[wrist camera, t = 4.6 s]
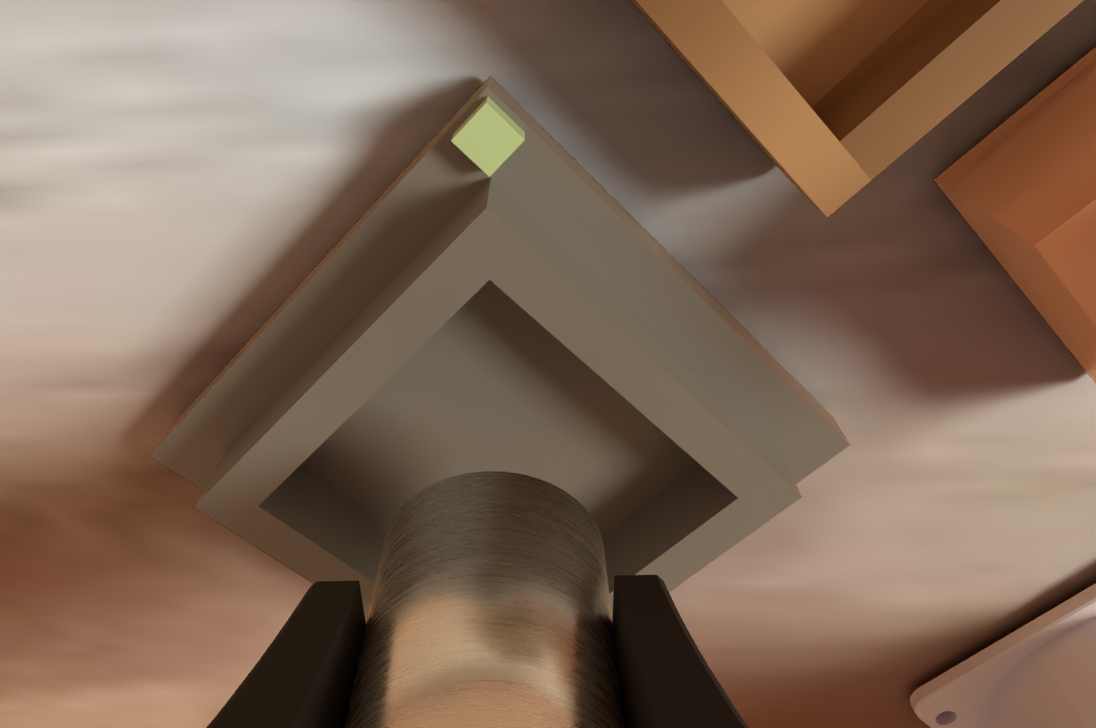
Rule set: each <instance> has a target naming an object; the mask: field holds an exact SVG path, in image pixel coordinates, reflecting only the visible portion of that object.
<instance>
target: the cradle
mask: <svg viewBox="0 0 1096 728" xmlns="http://www.w3.org/2000/svg"><path fill="white" fill-rule="evenodd" d="M849 445H850V444H849V442H848V441H847V439H846V437H845V436H844V434H843V432H842V431H841V429H840V427H839V426H838V424H837V423H836V421H835V419H834V418H833V416H832V415H831V414H830V413H828V412H827V411H826V410H825V409H824V408H823V407H822V406H821V405H820V404H819V403H818V402H817V401H816V400H815V399H814V398H813V397H812V396H811V395H810V394H809V393H808V392H807V391H806V390H805V389H804V388H803V387H802V386H801V385H800V384H799V383H798V382H797V381H796V380H795V379H794V378H793V377H792V376H791V375H790V374H789V373H788V372H787V371H786V370H785V369H784V368H783V367H782V366H781V365H780V364H779V363H778V362H777V361H776V360H775V359H774V358H773V357H772V356H771V355H770V354H769V353H768V352H767V351H766V350H765V349H764V348H763V347H762V346H761V345H760V344H759V343H758V342H757V341H756V340H755V339H754V338H753V337H752V336H751V335H750V334H749V333H748V332H747V331H746V330H745V329H744V328H743V327H742V326H741V325H740V324H739V323H738V322H737V321H736V320H735V319H734V318H733V317H732V316H731V315H730V314H729V313H728V312H727V311H726V310H725V309H724V308H723V307H722V306H721V305H720V304H719V303H718V302H717V301H716V300H715V299H714V298H713V297H712V296H711V295H710V294H709V293H708V292H707V291H706V290H705V289H704V288H703V287H702V286H701V285H700V284H699V283H698V282H697V281H696V280H695V279H694V278H693V277H692V276H691V275H690V274H689V273H688V272H687V271H686V270H685V269H684V268H683V267H682V266H681V265H680V264H679V263H678V262H677V261H676V260H675V259H674V258H673V257H672V256H671V255H670V254H669V253H668V252H667V251H666V250H665V249H664V248H663V247H662V246H661V245H660V244H659V243H658V242H657V241H656V240H655V239H654V238H653V237H652V236H651V235H650V234H649V233H648V232H647V231H646V230H645V229H644V228H643V227H642V226H641V225H640V224H639V223H638V222H637V221H636V220H635V219H634V218H633V217H632V216H631V215H630V214H629V213H628V212H627V211H626V210H625V209H624V208H623V207H622V206H621V205H620V204H619V203H618V202H617V201H616V200H615V199H614V198H613V197H612V196H611V195H610V194H609V193H608V192H607V191H606V190H605V189H604V188H603V187H602V186H601V185H600V184H599V183H598V182H597V181H596V180H595V179H594V178H593V177H592V176H591V175H590V174H589V173H588V172H587V171H586V170H585V169H584V168H583V167H582V166H581V165H580V164H579V163H578V162H577V161H576V160H575V159H573V158H572V157H571V156H570V155H569V154H568V153H567V152H566V151H565V150H564V149H563V148H562V147H561V146H560V145H559V144H558V143H557V142H556V141H555V140H554V139H553V138H552V137H551V136H550V135H549V134H548V133H547V132H546V131H545V130H544V129H543V128H542V127H541V126H540V125H539V124H538V123H537V122H536V121H535V120H534V119H533V118H532V117H531V116H530V115H529V114H528V113H527V112H526V111H525V110H524V109H523V108H522V107H521V106H520V105H519V104H518V103H517V102H516V101H515V100H514V99H513V98H512V97H511V96H510V95H509V94H508V93H507V92H506V91H505V90H504V89H503V88H502V87H501V86H500V85H499V84H498V83H497V82H496V81H495V80H494V79H493V78H492V77H491V76H489V77H488V79H487V80H486V81H485V82H484V83H483V84H482V85H481V86H480V87H479V88H478V90H477V91H476V92H475V93H474V94H473V95H472V96H471V97H470V98H469V99H468V101H467V102H466V103H465V104H464V105H463V106H462V107H461V108H460V109H459V110H458V111H457V113H456V114H455V115H454V116H453V117H452V118H451V119H450V120H449V121H448V122H447V124H446V125H445V126H444V127H443V128H442V129H441V130H440V131H439V132H438V133H437V135H436V136H435V137H434V138H433V139H432V140H431V141H430V142H429V143H428V144H427V146H426V147H425V148H424V149H423V150H422V151H421V152H420V153H419V154H418V155H417V157H416V158H415V159H414V160H413V161H412V162H411V163H410V164H409V165H408V166H407V168H406V169H405V170H404V171H403V172H402V173H401V174H400V175H399V176H398V177H397V178H396V180H395V181H394V182H393V183H392V184H391V185H390V186H389V187H388V188H387V189H386V191H385V192H384V193H383V194H382V195H381V196H380V197H379V198H378V199H377V200H376V202H375V203H374V204H373V205H372V206H371V207H370V208H369V209H368V210H367V211H366V213H365V214H364V215H363V216H362V217H361V218H360V219H359V220H358V221H357V222H356V224H355V225H354V226H353V227H352V228H351V229H350V230H349V231H348V232H347V233H346V235H345V236H344V237H343V238H342V239H341V240H340V241H339V242H338V243H337V244H336V245H335V247H334V248H333V249H332V250H331V251H330V252H329V253H328V254H327V255H326V256H325V258H324V259H323V260H322V261H321V262H320V263H319V264H318V265H317V266H316V267H315V269H314V270H313V271H312V272H311V273H310V274H309V275H308V276H307V277H306V278H305V280H304V281H303V282H302V283H301V284H300V285H299V286H298V287H297V288H296V289H295V291H294V292H293V293H292V294H291V295H290V296H289V297H288V298H287V299H286V300H285V302H284V303H283V304H282V305H281V306H280V307H279V308H278V309H277V310H276V311H275V312H274V314H273V315H272V316H271V317H270V318H269V319H268V320H267V321H266V322H265V323H264V325H263V326H262V327H261V328H260V329H259V330H258V331H257V332H256V333H255V334H254V336H253V337H252V338H251V339H250V340H249V341H248V342H247V343H246V344H245V345H244V347H243V348H242V349H241V350H240V351H239V352H238V353H237V354H236V355H235V356H234V358H233V359H232V360H231V361H230V362H229V363H228V364H227V365H226V366H225V367H224V369H223V370H222V371H221V372H220V373H219V374H218V375H217V376H216V377H215V378H214V379H213V381H212V382H211V383H210V384H209V385H208V386H207V387H206V388H205V389H204V390H203V392H202V393H201V394H200V395H199V396H198V397H197V398H196V399H195V400H194V401H193V403H192V404H191V405H190V406H189V407H188V408H187V409H186V410H185V411H184V412H183V414H182V415H181V416H180V417H179V418H178V419H177V420H176V421H175V422H174V423H173V425H172V426H171V427H170V428H169V429H168V431H167V432H166V434H165V435H164V436H163V438H162V439H161V441H160V442H159V443H158V445H157V446H156V448H155V449H154V451H153V452H152V453H151V455H150V457H152V458H153V459H155V460H156V461H158V462H159V463H161V464H162V465H164V466H166V467H167V468H169V469H170V470H172V471H173V472H175V473H176V474H178V475H179V476H181V477H183V478H184V479H186V480H187V481H189V482H190V483H192V484H193V485H195V486H196V487H198V488H199V489H201V490H203V492H202V493H201V495H200V497H199V499H198V500H197V502H196V504H195V506H194V508H195V509H197V510H199V511H200V512H202V513H203V514H205V515H206V516H208V517H210V518H211V519H213V520H214V521H216V522H217V523H219V524H221V525H222V526H224V527H225V528H227V529H228V530H230V531H232V532H233V533H235V534H236V535H238V536H239V537H241V538H242V539H244V540H246V541H247V542H249V543H250V544H252V545H253V546H255V547H257V548H258V549H260V550H261V551H263V552H264V553H266V554H268V555H269V556H271V557H272V558H274V559H275V560H277V561H279V562H280V563H282V564H283V565H285V566H286V567H288V568H290V569H291V570H293V571H294V572H296V573H297V574H299V575H301V576H302V577H304V578H305V579H307V580H308V581H310V582H311V583H313V584H314V583H315V582H317V581H359V583H360V589H361V596H362V602H363V609H364V615H365V617H366V618H368V614H369V610H370V605H371V600H372V596H373V591H374V586H375V582H376V577H377V572H378V568H379V563H380V558H381V554H382V549H383V544H384V540H385V536H386V533H387V530H388V527H389V525H390V523H391V521H392V519H393V518H394V516H395V515H396V513H397V512H398V511H399V510H400V508H401V507H402V506H403V505H404V504H405V503H406V502H407V501H408V500H409V499H410V498H411V497H413V496H414V495H416V494H417V493H418V492H420V491H421V490H423V489H425V488H427V487H428V486H430V485H432V484H434V483H436V482H439V481H441V480H444V479H447V478H450V477H453V476H457V475H461V474H466V473H473V472H483V471H501V472H512V473H518V474H524V475H528V476H531V477H535V478H539V479H541V480H544V481H546V482H549V483H551V484H553V485H555V486H557V487H559V488H561V489H562V490H564V491H566V492H567V493H568V494H570V495H571V496H573V497H574V498H575V499H576V500H578V501H579V502H580V503H581V504H582V505H583V506H584V507H585V508H586V510H587V511H588V512H589V513H590V514H591V516H592V517H593V519H594V521H595V522H596V524H597V526H598V528H599V531H600V533H601V536H602V540H603V546H604V553H605V562H606V571H607V579H608V588H609V597H610V605H611V614H612V617H613V594H614V576H615V575H658V576H659V577H660V578H661V579H662V580H663V581H664V582H665V585H666V587H667V590H668V592H670V591H672V590H673V589H674V588H676V587H677V586H678V585H680V584H681V583H683V582H684V581H685V580H687V579H688V578H690V577H691V576H692V575H694V574H695V573H697V572H698V571H699V570H701V569H702V568H704V567H705V566H706V565H708V564H709V563H710V562H712V561H713V560H715V559H716V558H717V557H719V556H720V555H722V554H723V553H724V552H726V551H727V550H729V549H730V548H731V547H733V546H734V545H736V544H737V543H738V542H740V541H741V540H742V539H744V538H745V537H747V536H748V535H749V534H751V533H752V532H754V531H755V530H756V529H758V528H759V527H761V526H762V525H763V524H765V523H766V522H768V521H769V520H770V519H772V518H773V517H774V516H776V515H777V514H779V513H780V512H781V511H783V510H784V509H786V508H787V507H788V506H790V505H791V504H793V503H794V502H795V501H797V500H798V499H800V498H801V497H802V496H801V494H800V492H799V490H798V488H797V486H796V484H797V483H798V482H800V481H801V480H802V479H804V478H805V477H806V476H808V475H809V474H811V473H812V472H813V471H815V470H816V469H817V468H819V467H820V466H822V465H823V464H824V463H826V462H827V461H828V460H830V459H831V458H833V457H834V456H835V455H837V454H838V453H839V452H841V451H842V450H844V449H845V448H846V447H848V446H849Z"/></svg>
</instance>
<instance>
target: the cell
mask: <svg viewBox="0 0 1096 728" xmlns="http://www.w3.org/2000/svg"><path fill="white" fill-rule="evenodd" d="M344 728H625V727H624V719H623V710H622V701H621V693H620V686H619V678H618V670H617V661H616V652H615V643H614V635H613V626H612V614H611V605H610V597H609V588H608V579H607V571H606V562H605V553H604V546H603V540H602V536H601V533H600V531H599V528H598V526H597V524H596V522H595V521H594V519H593V517H592V516H591V514H590V513H589V512H588V511H587V510H586V508H585V507H584V506H583V505H582V504H581V503H580V502H579V501H578V500H576V499H575V498H574V497H573V496H571V495H570V494H568V493H567V492H566V491H564V490H562V489H561V488H559V487H557V486H555V485H553V484H551V483H549V482H546V481H544V480H541V479H539V478H535V477H531V476H528V475H524V474H518V473H512V472H501V471H483V472H473V473H466V474H461V475H457V476H453V477H450V478H447V479H444V480H441V481H439V482H436V483H434V484H432V485H430V486H428V487H427V488H425V489H423V490H421V491H420V492H418V493H417V494H416V495H414V496H413V497H411V498H410V499H409V500H408V501H407V502H406V503H405V504H404V505H403V506H402V507H401V508H400V510H399V511H398V512H397V513H396V515H395V516H394V518H393V519H392V521H391V523H390V525H389V527H388V530H387V533H386V536H385V540H384V544H383V549H382V554H381V558H380V563H379V568H378V572H377V577H376V582H375V586H374V591H373V596H372V600H371V605H370V610H369V614H368V619H367V624H366V628H365V633H364V638H363V642H362V647H361V652H360V656H359V661H358V666H357V670H356V675H355V680H354V684H353V689H352V694H351V698H350V703H349V707H348V712H347V717H346V721H345V726H344Z"/></svg>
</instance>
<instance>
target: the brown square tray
mask: <svg viewBox="0 0 1096 728" xmlns="http://www.w3.org/2000/svg"><path fill="white" fill-rule="evenodd" d="M631 1H632V3H633V4H634V5H635V6H636V7H637V8H638V9H639V10H640V12H641V13H642V14H643V15H644V16H645V17H646V18H647V20H648V21H649V22H650V23H651V24H652V25H653V26H654V27H655V29H656V30H657V31H658V32H659V33H660V34H661V35H662V37H663V38H664V39H665V40H666V41H667V42H668V43H669V44H670V46H671V47H672V48H673V49H674V50H675V51H676V52H677V53H678V55H679V56H680V57H681V58H682V59H683V60H684V61H685V63H686V64H687V65H688V66H689V67H690V68H691V69H692V70H693V72H694V73H695V74H696V75H697V76H698V77H699V78H700V79H701V81H702V82H703V83H704V84H705V85H706V86H707V87H708V89H709V90H710V91H711V92H712V93H713V94H714V95H715V96H716V98H717V99H718V100H719V101H720V102H721V103H722V104H723V106H724V107H725V108H726V109H727V110H728V111H729V112H730V113H731V115H732V116H733V117H734V118H735V119H736V120H737V121H738V122H739V124H740V125H741V126H742V127H743V128H744V129H745V130H746V132H747V133H748V134H749V135H750V136H751V137H752V138H753V139H754V141H755V142H756V143H757V144H758V145H759V146H760V147H761V148H762V150H763V151H764V152H765V153H766V154H767V155H768V156H769V158H770V159H771V160H772V161H773V162H774V163H775V164H776V165H777V167H778V168H779V169H780V170H781V171H782V172H783V173H784V174H785V175H786V176H787V177H788V178H789V179H790V181H791V182H792V183H793V184H794V185H795V186H796V187H797V188H798V189H799V190H800V191H801V192H802V193H803V194H804V195H805V196H806V197H807V198H808V199H809V200H810V201H811V202H812V203H813V204H814V205H815V206H816V207H817V208H818V209H819V210H820V211H821V212H822V213H823V214H824V215H825V216H826V217H829V216H830V215H831V214H832V213H833V212H835V211H836V210H837V209H838V208H839V207H840V206H842V205H843V204H844V203H845V202H846V201H848V200H849V199H850V198H851V197H852V196H853V195H855V194H856V193H857V192H858V191H859V190H861V189H862V188H863V187H864V186H865V185H866V184H868V183H869V182H870V181H871V180H872V179H874V178H875V177H876V176H877V175H878V174H879V173H881V172H882V171H883V170H884V169H885V168H886V167H888V166H889V165H890V164H891V163H892V162H894V161H895V160H896V159H897V158H898V157H899V156H901V155H902V154H903V153H904V152H905V151H907V150H908V149H909V148H910V147H911V146H912V145H914V144H915V143H916V142H917V141H918V140H920V139H921V138H922V137H923V136H924V135H925V134H927V133H928V132H929V131H930V130H931V129H933V128H934V127H935V126H936V125H937V124H938V123H940V122H941V121H942V120H943V119H944V118H946V117H947V116H948V115H949V114H950V113H951V112H953V111H954V110H955V109H956V108H957V107H959V106H960V105H961V104H962V103H963V102H964V101H966V100H967V99H968V98H969V97H970V96H972V95H973V94H974V93H975V92H976V91H977V90H979V89H980V88H981V87H982V86H983V85H985V84H986V83H987V82H988V81H989V80H990V79H992V78H993V77H994V76H995V75H996V74H998V73H999V72H1000V71H1001V70H1002V69H1003V68H1005V67H1006V66H1007V65H1008V64H1009V63H1010V62H1012V61H1013V60H1014V59H1015V58H1016V57H1018V56H1019V55H1020V54H1021V53H1022V52H1023V51H1025V50H1026V49H1027V48H1028V47H1029V46H1031V45H1032V44H1033V43H1034V42H1035V41H1036V40H1038V39H1039V38H1040V37H1041V36H1042V35H1044V34H1045V33H1046V32H1047V31H1048V30H1049V29H1051V28H1052V27H1053V26H1054V25H1055V24H1057V23H1058V22H1059V21H1060V20H1061V19H1062V18H1064V17H1065V16H1066V15H1067V14H1068V13H1070V12H1071V11H1072V10H1073V9H1074V8H1075V7H1077V6H1078V5H1079V4H1080V3H1081V2H1083V1H1084V0H631Z"/></svg>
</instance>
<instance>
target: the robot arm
mask: <svg viewBox="0 0 1096 728" xmlns="http://www.w3.org/2000/svg"><path fill="white" fill-rule="evenodd" d="M612 626H613V635H614V643H615V652H616V661H617V670H618V678H619V686H620V693H621V701H622V710H623V719H624V727H625V728H748V726H747V725H746V723H745V722H744V721H743V719H742V718H741V716H740V715H739V713H738V712H737V710H736V709H735V707H734V706H733V704H732V703H731V701H730V699H729V698H728V696H727V695H726V693H725V692H724V690H723V688H722V687H721V685H720V684H719V682H718V681H717V679H716V677H715V676H714V674H713V673H712V671H711V670H710V668H709V666H708V665H707V663H706V661H705V660H704V658H703V656H702V655H701V653H700V651H699V649H698V648H697V646H696V644H695V642H694V640H693V639H692V637H691V635H690V633H689V632H688V630H687V628H686V626H685V624H684V622H683V620H682V618H681V617H680V615H679V613H678V611H677V609H676V607H675V605H674V603H673V600H672V598H671V596H670V594H669V592H668V590H667V587H666V585H665V582H664V581H663V580H662V579H661V578H660V577H659V576H658V575H615V576H614V594H613V617H612ZM365 628H366V621H365V615H364V609H363V602H362V596H361V589H360V583H359V581H317V582H315V583H314V584H313V585H312V586H311V587H310V588H309V589H308V591H307V592H306V594H305V595H304V597H303V599H302V600H301V602H300V603H299V604H298V606H297V607H296V609H295V610H294V612H293V613H292V615H291V616H290V618H289V619H288V621H287V622H286V624H285V625H284V626H283V628H282V629H281V631H280V632H279V634H278V635H277V636H276V638H275V639H274V641H273V642H272V643H271V645H270V646H269V647H268V649H267V650H266V652H265V653H264V654H263V656H262V657H261V659H260V660H259V661H258V663H257V664H256V665H255V667H254V668H253V669H252V670H251V672H250V673H249V674H248V676H247V677H246V678H245V680H244V681H243V682H242V684H241V685H240V686H239V687H238V689H237V690H236V691H235V693H234V694H233V695H232V697H231V698H230V699H229V700H228V702H227V703H226V704H225V706H224V707H223V708H222V709H221V711H220V712H219V713H218V714H217V716H216V717H215V718H214V719H213V720H212V722H211V723H210V724H209V725H208V726H207V728H344V726H345V721H346V717H347V712H348V707H349V703H350V698H351V694H352V689H353V684H354V680H355V675H356V670H357V666H358V661H359V656H360V652H361V647H362V642H363V638H364V633H365ZM910 704H911V706H912V708H913V710H914V712H915V714H916V715H917V717H918V718H919V719H921V720H922V721H923V722H924V723H926V724H927V725H928V726H929V727H930V728H1096V583H1095V584H1093V585H1092V586H1090V587H1088V588H1087V589H1085V590H1083V591H1081V592H1080V593H1078V594H1076V595H1075V596H1073V597H1071V598H1070V599H1068V600H1066V601H1065V602H1063V603H1061V604H1059V605H1058V606H1056V607H1054V608H1053V609H1051V610H1049V611H1048V612H1046V613H1044V614H1042V615H1041V616H1039V617H1037V618H1036V619H1034V620H1032V621H1031V622H1029V623H1027V624H1026V625H1024V626H1022V627H1020V628H1019V629H1017V630H1015V631H1014V632H1012V633H1010V634H1009V635H1007V636H1005V637H1003V638H1002V639H1000V640H998V641H997V642H995V643H993V644H992V645H990V646H988V647H987V648H985V649H983V650H981V651H980V652H978V653H976V654H975V655H973V656H971V657H970V658H968V659H966V660H964V661H963V662H961V663H959V664H958V665H956V666H954V667H953V668H951V669H949V670H947V671H946V672H944V673H942V674H941V675H939V676H937V677H936V678H934V679H932V680H931V681H929V682H927V683H925V684H924V685H922V686H920V687H919V688H917V689H916V690H915V691H914V692H913V693H912V695H911V697H910Z"/></svg>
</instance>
